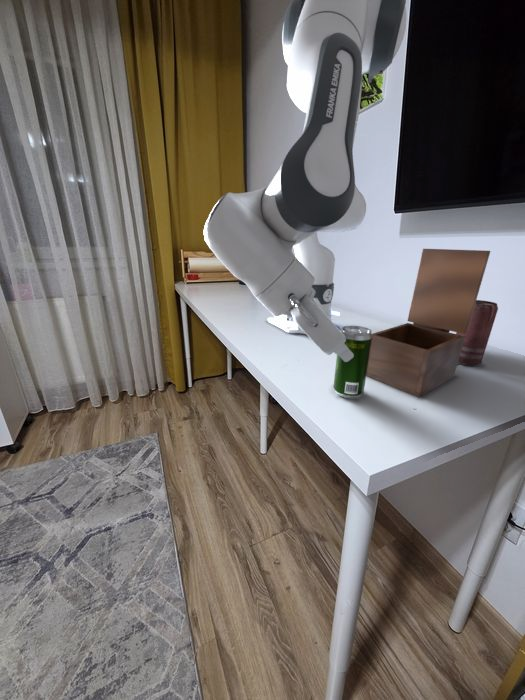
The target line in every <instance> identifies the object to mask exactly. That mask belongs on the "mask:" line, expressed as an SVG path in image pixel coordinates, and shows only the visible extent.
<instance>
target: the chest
mask: <svg viewBox="0 0 525 700" xmlns="http://www.w3.org/2000/svg"><path fill="white" fill-rule="evenodd" d="M371 335H372V341H371V347H370V354H369V360H368V367H367V373H366V377H369V378H371V379H374V380H376V381H378V382H380V383H382V384H386V385H388V386H390V387H393V388H395V389H397V390H400V391H403V392H405V393H408V394H410V395H412V396H414V397H417V398H421V397H423V396H424V395H426V394H427V393H429V392H431V391H432V390H434V389H435V388H437V387H440V385H442V384H444V383H445V382H448V381H449V380H450V379H452V378H454V377H455V375H456V371H457V367H458V360H459V357H460V353H461V349H462V346H463V342H464V339H465V336H462V335H458V334H456V333H453V332H450V331H449V332H445V331H440V330H436V329H432V328H427V327H423V326H419V325H414V324H413V323H411V322H406V323H403V324H400V325H396V326H393V327H390V328H387V329H384V330H380V331H377V332H373V333H371Z"/></svg>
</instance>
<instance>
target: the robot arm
mask: <svg viewBox="0 0 525 700" xmlns="http://www.w3.org/2000/svg"><path fill="white" fill-rule="evenodd" d="M406 3H407V0H292V1H291V2H290V3H289V4H288V6H287V7H286V10H285V13H284V21H283V25H282V33H281V35H282V36H281V43H282V51H283V59H284V62H285V63H286V65H287V73H286V90H287V92H288V95H289V98H290V99H291V101H292V102H293V103H294V105H295V106H296V107H297V108H298V109H299V111H301V112H302V113H304V114H305V119H304V125H303V129H302V133H301V136H300V137H299V138H298V140H296V142H294V144H293V145H292V146H291V148H290V149H289V151H288V152H287V154H286V155H285V157H284V159H283V161H282V162H281V164H280V166H279V168H278V170H277V172H276V173H275V175H274V176H273V178H272V179H271V181H270V182H269V184H268V185H265V186H263V187H260V188H258V189H254V190H250V191H247V192H239V193H237V192H236V193H235V192H230V191H229V192H227V193H225V194H223V195H222V196H221V197H220V198H219V199H218V201H217V202H216V203H215V205H214V206H213V208H212V210H211V211H210V213H209V215H208V218H207V219H206V222H205V224H204V228H203V238H204V242H205V243H206V246H208V248H209V250H211V252H212V253H213V254H214V256H215V257H216V258H217V259H218V261H220V263H221V264H222V265H223V266H224V267H225V268H226V269H227V271H229V272H230V273H231V275H233V277H235V278H236V279H238V280H239V281H241V282H243V283H244V284H245V285H246V286H247V287H248V289H249V290H250V292H251V294H252V295H253V296H254V298H256V299H257V301H259V303H260V304H261V305H263V307H264V308H266V310H267V311H268V312H269V313H270V314H271V315H272V316H270V317H268V318H267V322H268V323H270V324H271V325H273V326H274V327H276V328H279V329H281V330H282V331H284V332H286V333H288V334H304V335H306V336H307V337H308V338H309V339H310V340H311V342H313V343H314V344H315V346H316V347H317V348H319V350H320V351H321V352H322V353H324V354H325V355H327V356H331V355H332V354H335V355H336V356H337V355H338V356H340V358H341V359H342V360H343V361H344V362H348V361H349V360H351V359H352V358H353V357H354V354H353V353H352V352H351V351H350V350H349V349H348V347H347V346H346V345H345V344H344V343H345V341H346V337H345V336H344V334H343V333H342V332H341V329H340V328H338V327H337V325H336V324H335V323H334V322H333V315H334V316H337V317H340V315H341V312H339V311H334V310H333V309H332V308H333V307H332V306H333V305H332V301H333V297H334V293H335V292H334V291H335V290H334V289H335V283H334V273H335V262H336V258H335V255H334V252H333V251H332V250H331V249H330V248H328V247H327V246H324V245H323V244H321V242H320V241H319V238H318V233H344V232H348V231H353V230H354V231H355V230H356V229H358V228H359V227H360V225H361V224H362V222H363V221H364V219H365V216H366V212H367V203H366V199H365V196H364V195H363V194H362V193H361V191H360V190H359V188H358V187H357V185H356V176H355V175H356V173H355V166H354V165H355V164H354V155H353V154H354V151H353V149H354V143H355V137H356V136H355V135H356V131H357V125H358V120H359V116H360V115H359V114H360V108H361V102H362V101H361V100H362V89H363V76H364V75H366V74H368V80H367V84H371V83H372V82H373V79H374V78H375V77H376V76H379V75H381V74H382V73H384V72H385V71H386V70H387V69H388V68H389V66H390V65H391V64H392V63H393V60H394V58H395V57H396V55H397V53H398V52H399V49H400V48H401V45H402V42H403V40H404V37H405V33H406V27H407V7H406ZM293 251H294V253H293Z"/></svg>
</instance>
